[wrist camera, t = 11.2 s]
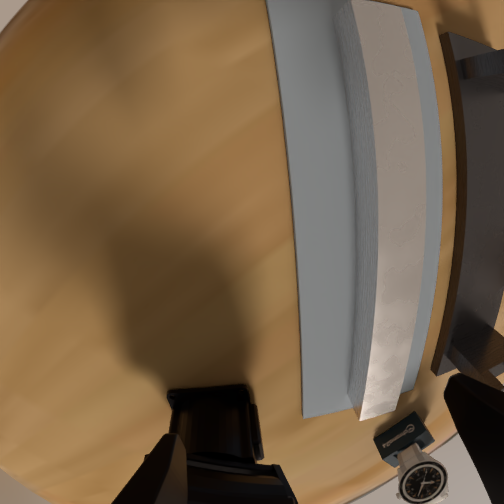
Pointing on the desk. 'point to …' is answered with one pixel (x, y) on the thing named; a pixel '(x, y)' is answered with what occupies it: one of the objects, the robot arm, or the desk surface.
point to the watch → (413, 461)
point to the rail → (383, 197)
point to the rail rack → (475, 214)
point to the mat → (339, 194)
